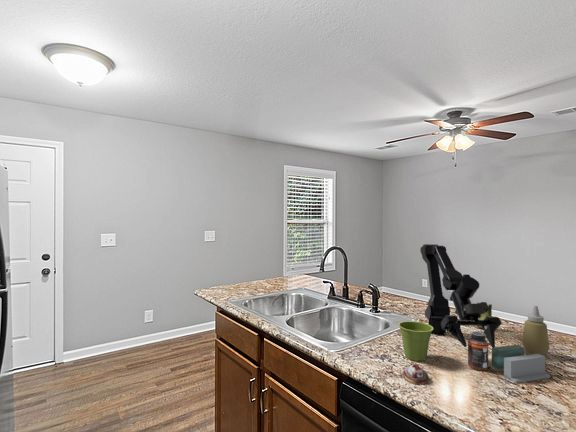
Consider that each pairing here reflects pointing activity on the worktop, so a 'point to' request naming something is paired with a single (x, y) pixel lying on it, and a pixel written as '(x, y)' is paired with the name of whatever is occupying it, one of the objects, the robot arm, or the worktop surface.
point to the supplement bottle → (478, 351)
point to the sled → (503, 355)
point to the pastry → (415, 374)
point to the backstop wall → (525, 368)
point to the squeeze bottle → (535, 334)
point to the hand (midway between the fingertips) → (479, 346)
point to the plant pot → (415, 339)
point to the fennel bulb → (485, 314)
